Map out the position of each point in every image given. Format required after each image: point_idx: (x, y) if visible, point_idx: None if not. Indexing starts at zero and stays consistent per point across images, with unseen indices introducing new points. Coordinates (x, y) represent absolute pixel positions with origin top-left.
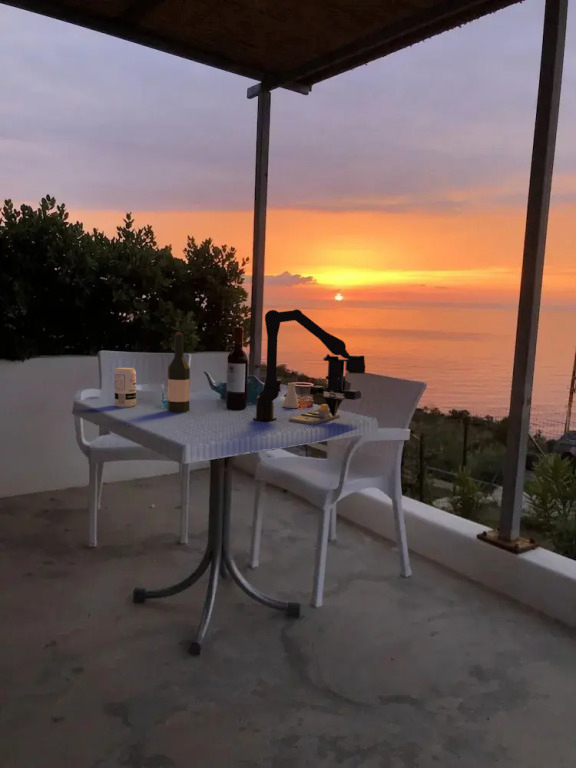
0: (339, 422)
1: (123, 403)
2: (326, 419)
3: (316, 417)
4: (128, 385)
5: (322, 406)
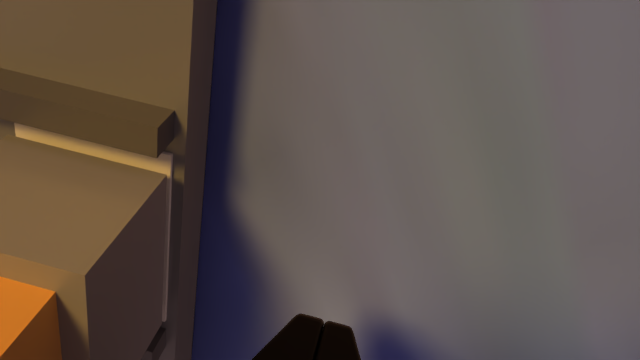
0: (479, 285)
1: None
2: (190, 254)
3: None
4: None
5: None
